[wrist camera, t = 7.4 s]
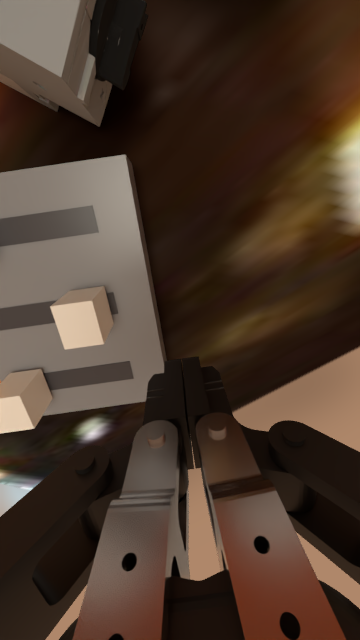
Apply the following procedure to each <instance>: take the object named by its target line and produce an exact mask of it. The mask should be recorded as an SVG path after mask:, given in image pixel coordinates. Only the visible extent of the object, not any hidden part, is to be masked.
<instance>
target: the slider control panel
mask: <svg viewBox="0 0 360 640" xmlns="http://www.w3.org/2000/svg"><path fill="white" fill-rule="evenodd" d="M100 286H104V287H105V291H106V295H107V299H108V303H109V307H110V311H111V315H112V319H113V323H114V324H113V326H112V328H111V330H110V332H109V334H108V337H107V339H106V341H105V343H104V344H101V345H94V346H87V347H80V348H73V349H66V350H65V349H64V346H63V343H62V340H61V337H60V334H59V331H58V328H57V325H56V323H55V320H54V317H53V314H52V311H51V308H50V306H51V305H53V304H54V303H55V302H56V301H57V300H59V299H60V298H61V297H62V296H64V295H65V294H66V293H67V292H69V291H72V290H79V289H86V288H93V287H100ZM164 361H167V359H166V353H165V348H164V342H163V336H162V331H161V325H160V319H159V314H158V308H157V303H156V297H155V291H154V286H153V280H152V274H151V269H150V263H149V257H148V252H147V246H146V240H145V235H144V229H143V223H142V218H141V212H140V207H139V201H138V195H137V190H136V184H135V178H134V173H133V167H132V163H131V162H130V160H129V159H128V158H127V156H126V155H118V156H112V157H105V158H98V159H91V160H84V161H78V162H71V163H64V164H57V165H50V166H43V167H37V168H30V169H23V170H16V171H9V172H2V173H0V383H1V382H2V381H3V380H4V379H5V378H6V377H7V376H8V375H9V374H10V373H15V372H22V371H29V370H36V369H41V370H42V372H43V375H44V377H45V380H46V383H47V385H48V388H49V390H50V393H51V395H52V398H53V399H52V400H51V402H50V404H49V405H48V407H47V409H46V410H45V412H44V414H43V415H42V416H44V415H51V414H59V413H66V412H73V411H80V410H87V409H94V408H101V407H108V406H115V405H122V404H129V403H136V402H143V401H146V396H147V387H148V382H149V380H150V379H151V377H152V376H153V375H154V374H159V373H164Z"/></svg>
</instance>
